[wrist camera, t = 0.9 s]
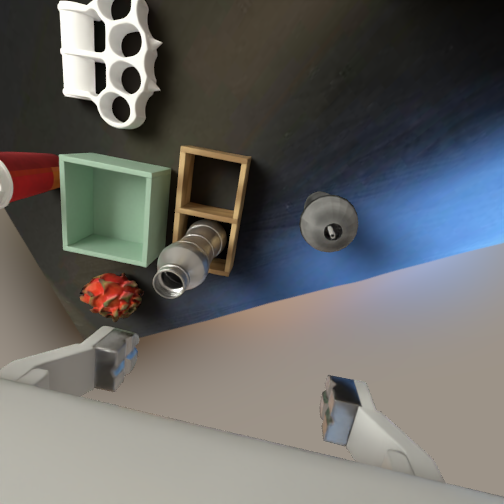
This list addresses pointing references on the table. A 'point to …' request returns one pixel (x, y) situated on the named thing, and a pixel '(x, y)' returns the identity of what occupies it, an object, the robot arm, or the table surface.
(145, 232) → the open storage box
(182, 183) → the rack
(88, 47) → the knuckle duster
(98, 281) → the dragon fruit
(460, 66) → the table surface
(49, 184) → the paper cup
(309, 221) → the beverage cup
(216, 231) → the silver metal bottle
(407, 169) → the table surface
